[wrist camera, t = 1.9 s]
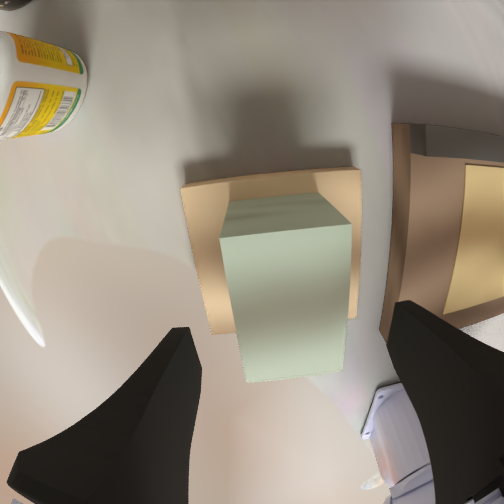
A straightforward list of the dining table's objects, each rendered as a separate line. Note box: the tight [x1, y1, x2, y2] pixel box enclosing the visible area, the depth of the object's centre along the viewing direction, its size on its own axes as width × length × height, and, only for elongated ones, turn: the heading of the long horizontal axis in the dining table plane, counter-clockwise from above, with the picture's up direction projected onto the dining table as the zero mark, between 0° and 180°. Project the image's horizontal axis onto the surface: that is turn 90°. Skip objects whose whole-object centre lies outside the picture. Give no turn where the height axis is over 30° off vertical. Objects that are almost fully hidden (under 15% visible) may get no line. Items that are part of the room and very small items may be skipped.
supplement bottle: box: [0, 31, 87, 140], centre depth 8 cm, size 5×5×10 cm
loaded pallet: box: [180, 167, 362, 383], centre depth 14 cm, size 9×9×6 cm
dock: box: [379, 123, 504, 343], centre depth 14 cm, size 14×18×4 cm
